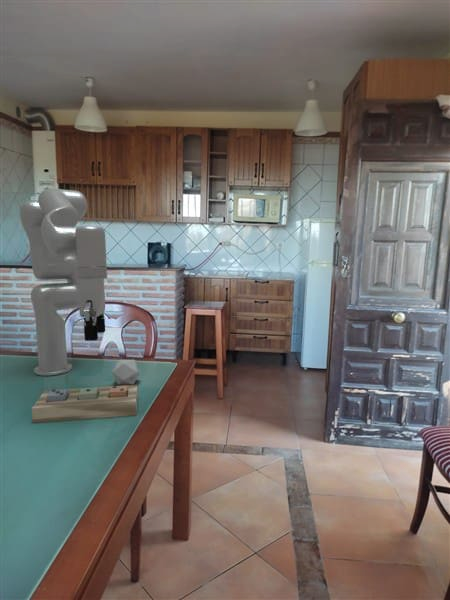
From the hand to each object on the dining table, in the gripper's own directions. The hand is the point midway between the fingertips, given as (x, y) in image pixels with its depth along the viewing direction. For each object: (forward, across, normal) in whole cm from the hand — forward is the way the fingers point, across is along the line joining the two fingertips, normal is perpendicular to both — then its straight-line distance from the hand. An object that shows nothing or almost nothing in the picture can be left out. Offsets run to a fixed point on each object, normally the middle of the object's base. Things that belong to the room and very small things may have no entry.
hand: (95, 336), depth 104 cm
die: (+21, -20, +5) cm, 29 cm away
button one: (+18, 0, -3) cm, 18 cm away
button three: (+18, +1, -11) cm, 21 cm away
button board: (+21, 0, -3) cm, 21 cm away
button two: (+18, -1, +5) cm, 19 cm away
